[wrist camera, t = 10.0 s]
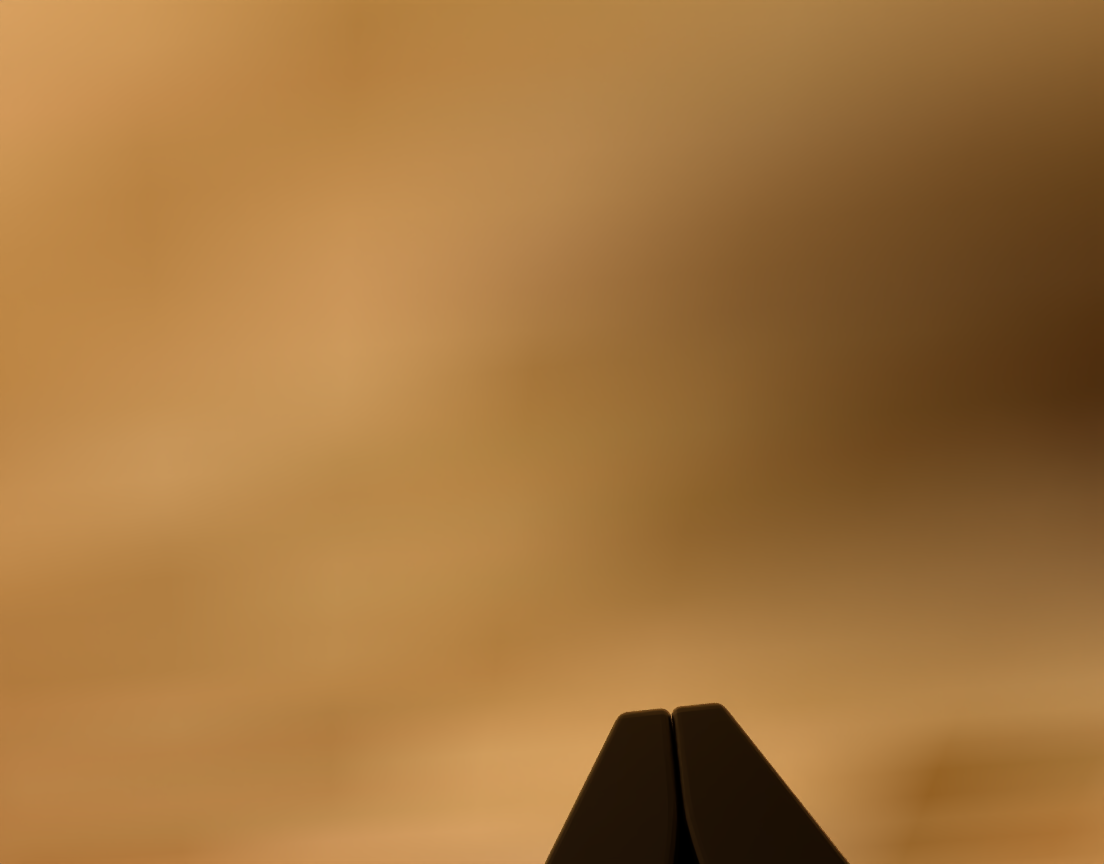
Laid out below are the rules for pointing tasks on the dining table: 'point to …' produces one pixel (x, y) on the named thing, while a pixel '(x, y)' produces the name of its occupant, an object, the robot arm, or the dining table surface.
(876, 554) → the dining table surface
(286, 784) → the dining table surface
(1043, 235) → the dining table surface
